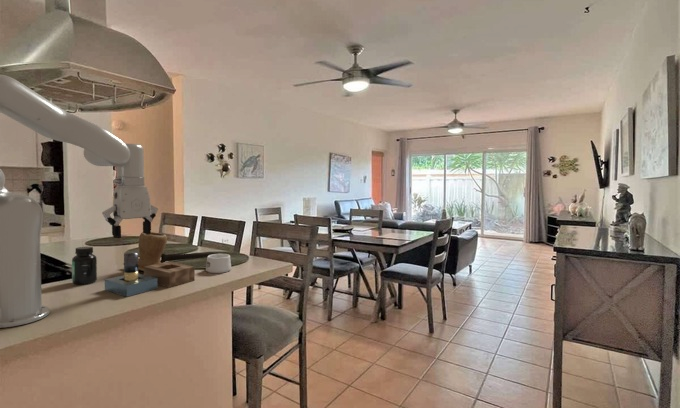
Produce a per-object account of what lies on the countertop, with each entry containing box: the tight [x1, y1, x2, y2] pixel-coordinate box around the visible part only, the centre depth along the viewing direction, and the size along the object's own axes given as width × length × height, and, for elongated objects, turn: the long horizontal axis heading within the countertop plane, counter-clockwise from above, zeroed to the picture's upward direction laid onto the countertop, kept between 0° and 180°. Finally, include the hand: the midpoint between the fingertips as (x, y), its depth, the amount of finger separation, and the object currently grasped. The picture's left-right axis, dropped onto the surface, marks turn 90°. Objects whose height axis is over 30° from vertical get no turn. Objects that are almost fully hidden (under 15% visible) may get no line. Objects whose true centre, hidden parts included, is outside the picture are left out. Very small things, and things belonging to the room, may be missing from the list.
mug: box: [205, 253, 232, 274], centre depth 142 cm, size 12×10×6 cm
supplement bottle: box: [71, 246, 98, 286], centre depth 120 cm, size 7×7×12 cm
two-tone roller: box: [123, 251, 139, 282], centre depth 114 cm, size 4×4×12 cm
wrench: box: [160, 252, 220, 263], centre depth 156 cm, size 5×5×30 cm
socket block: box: [104, 273, 158, 298], centre depth 115 cm, size 10×12×4 cm
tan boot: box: [122, 231, 168, 272], centre depth 140 cm, size 15×12×15 cm
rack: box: [143, 261, 196, 288], centre depth 126 cm, size 10×14×5 cm
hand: (132, 235), depth 114 cm, fingers open, 9 cm apart
